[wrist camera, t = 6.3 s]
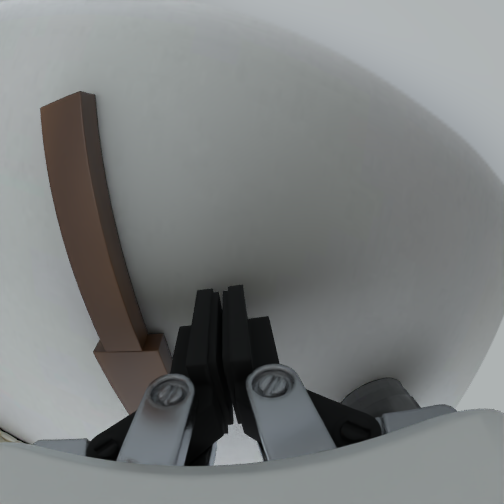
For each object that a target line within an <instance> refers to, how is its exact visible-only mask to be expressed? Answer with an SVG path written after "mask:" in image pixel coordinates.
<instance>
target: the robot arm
mask: <svg viewBox="0 0 504 504" xmlns="http://www.w3.org/2000/svg"><path fill="white" fill-rule="evenodd" d="M233 407H234V411H235V414H236V418H237V422H238V424H241V423H242V427H243V430H244V433H245V434H246V435H248V436H250V437H251V438H253V439H255V440H256V441H257V444H258V447H259V450H260V453H261V456H262V460H263V462H258V463H248V464H236V465H220V466H214V461H215V456H216V450H217V443H216V441H217V440H218V439H220V438H221V437H222V436H223V435H224V434H226V433H228V425H231V424H233ZM0 504H504V413H502V412H501V411H498V410H494V409H471V410H464V411H456V410H455V409H454V408H453V407H451V406H448V405H445V404H441V405H434V406H428V407H423V408H418V409H412V410H406V411H399V412H392V413H384V414H383V415H382V417H376V418H374V417H373V416H371V415H369V414H367V413H364V412H361V411H359V410H356V409H353V408H351V407H348V406H346V405H343V404H341V403H338V402H336V401H333V400H331V399H328V398H326V397H323V396H321V395H319V394H316V393H314V392H311V391H309V390H307V389H305V387H304V385H303V383H302V382H301V380H300V378H299V376H298V374H297V373H296V372H295V371H294V370H293V369H292V368H290V367H288V366H285V365H282V364H279V359H278V355H277V351H276V346H275V342H274V338H273V333H272V329H271V325H270V320H269V317H268V316H266V317H259V318H251V319H248V318H247V311H246V304H245V297H244V290H243V285H236V286H228V291H223V309H222V306H221V301H220V296H219V292H213V289H204V290H197V295H196V301H195V307H194V313H193V319H192V325H190V326H181V327H180V328H179V331H178V336H177V341H176V345H175V350H174V355H173V360H172V366H171V371H170V374H166V375H163V376H160V377H158V378H156V379H155V380H153V381H152V382H151V383H150V384H149V386H148V387H147V389H146V391H145V393H144V395H143V398H142V400H141V402H140V405H139V407H138V409H137V410H136V411H135V412H133V413H132V414H130V415H129V416H127V417H126V418H124V419H122V420H121V421H119V422H118V423H116V424H115V425H113V426H111V427H110V428H108V429H107V430H105V431H104V432H102V433H100V434H99V435H97V436H96V437H95V438H93V439H92V441H89V440H88V439H87V438H84V439H62V440H39V441H37V442H35V443H34V444H33V445H32V444H25V443H16V442H1V443H0Z"/></svg>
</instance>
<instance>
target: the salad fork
mask: <svg viewBox="0 0 504 504" xmlns="http://www.w3.org/2000/svg"><path fill="white" fill-rule="evenodd" d="M40 111H41V124H42V135H43V143H44V151H45V158H46V165H47V171H48V176H49V182H50V187H51V192H52V197H53V202H54V206H55V210H56V214H57V219H58V223H59V226H60V230H61V234H62V237H63V241H64V244H65V248H66V251H67V254H68V258H69V261H70V264H71V267H72V270H73V273H74V276H75V279H76V281H77V284H78V287H79V290H80V292H81V295H82V298H83V300H84V303H85V305H86V308H87V310H88V313H89V315H90V318H91V320H92V322H93V325H94V327H95V329H96V331H97V334H98V336H99V338H100V340H99V342H98V344H97V346H96V348H95V349H94V351H93V353H94V355H95V357H96V359H97V361H98V363H99V364H100V366H101V368H102V370H103V372H104V374H105V375H106V377H107V379H108V381H109V383H110V384H111V386H112V388H113V389H114V391H115V393H116V394H117V396H118V398H119V399H120V401H121V403H122V404H123V406H124V407H125V409H126V410H127V412H128V413H129V415H130V414H132V413H133V412H135V411H136V410H137V409H138V407H139V405H140V402H141V400H142V398H143V395H144V393H145V391H146V389H147V387H148V386H149V384H150V383H151V382H152V381H153V380H155V379H156V378H158V377H160V376H163V375H166V374H170V371H171V366H172V357H171V354H170V352H169V349H168V346H167V343H166V340H165V337H164V335H163V333H160V334H148V332H147V329H146V327H145V324H144V321H143V318H142V315H141V312H140V309H139V306H138V303H137V300H136V297H135V294H134V291H133V288H132V284H131V281H130V278H129V275H128V271H127V268H126V264H125V261H124V257H123V253H122V250H121V246H120V242H119V238H118V234H117V230H116V226H115V221H114V217H113V212H112V208H111V203H110V198H109V193H108V188H107V183H106V178H105V172H104V166H103V160H102V153H101V146H100V139H99V131H98V123H97V113H96V102H95V95H93V94H89V93H86V92H82V91H79V92H76V93H74V94H71V95H69V96H66V97H64V98H62V99H59V100H57V101H55V102H52V103H50V104H48V105H46V106H43V107H41V108H40Z"/></svg>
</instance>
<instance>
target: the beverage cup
mask: <svg viewBox="0 0 504 504" xmlns="http://www.w3.org/2000/svg"><path fill="white" fill-rule="evenodd" d="M341 404H343V405H346V406H348V407H351V408H353V409H356V410H359V411H361V412H364V413H367V414H369V415H371V416H373V417H374V418H376V417H382V415H383V414H384V413H392V412H399V411H406V410H412V409H418V408H421V407H420V406H419V405H418V403H417V402H416V401H415V399H414V398H413V397H412V396H410V395H409V393H408V392H407V391H406V390H405V389H404V388H403V387H402V385H401V383H400V382H399V381H397V380H395V379H388V378H385V379H381V380H376V381H373V382H371V383H368V384H366V385H364V386H362V387H360V388H359V389H357V390H355V391H354V392H352V393H351V394H350V395H349V396H348V397H346V398H345V399H344V400H343V402H342V403H341Z"/></svg>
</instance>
